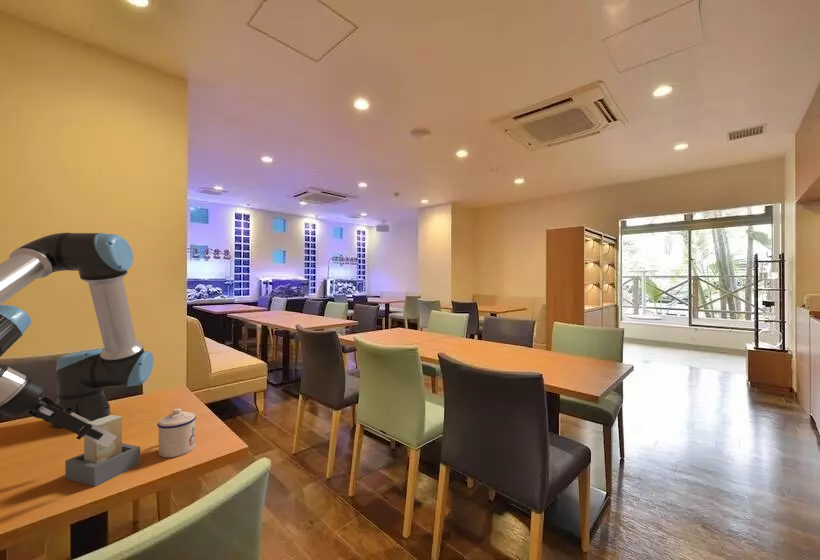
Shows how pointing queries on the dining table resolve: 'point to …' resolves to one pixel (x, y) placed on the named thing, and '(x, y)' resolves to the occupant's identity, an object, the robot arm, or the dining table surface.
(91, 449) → the skincare box
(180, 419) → the teacup with lid
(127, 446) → the tray
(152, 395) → the dining table surface
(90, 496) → the dining table surface
